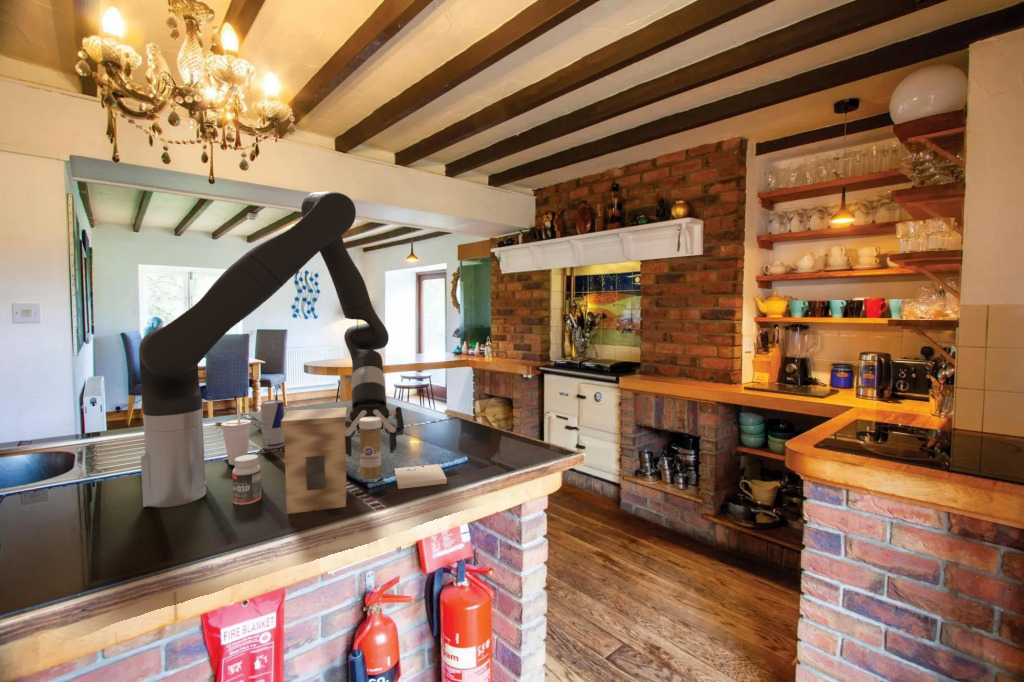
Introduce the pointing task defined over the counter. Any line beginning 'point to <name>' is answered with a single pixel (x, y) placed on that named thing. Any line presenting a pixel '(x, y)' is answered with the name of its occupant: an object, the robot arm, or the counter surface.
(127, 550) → the counter surface
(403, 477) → the tile
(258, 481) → the pill bottle
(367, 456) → the sprinkles bottle
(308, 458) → the box
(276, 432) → the energy drink
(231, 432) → the smoothie
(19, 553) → the counter surface
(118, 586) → the counter surface
